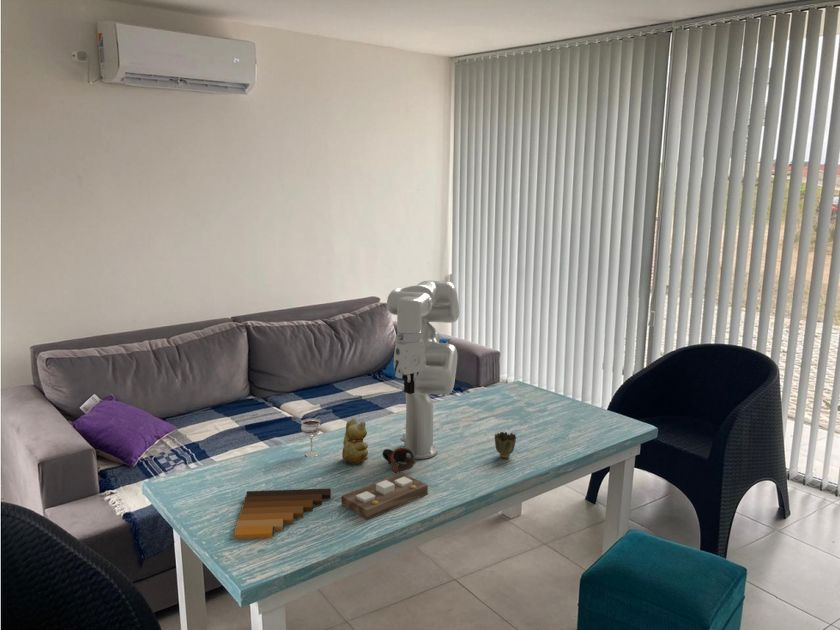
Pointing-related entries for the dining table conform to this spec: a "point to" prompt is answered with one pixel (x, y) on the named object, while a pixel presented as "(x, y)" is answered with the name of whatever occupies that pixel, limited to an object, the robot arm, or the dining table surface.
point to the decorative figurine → (355, 442)
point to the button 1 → (365, 497)
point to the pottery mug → (399, 459)
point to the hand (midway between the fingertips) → (409, 392)
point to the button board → (384, 497)
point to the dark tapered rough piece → (505, 444)
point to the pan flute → (275, 510)
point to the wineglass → (311, 431)
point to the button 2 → (403, 482)
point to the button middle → (385, 487)
